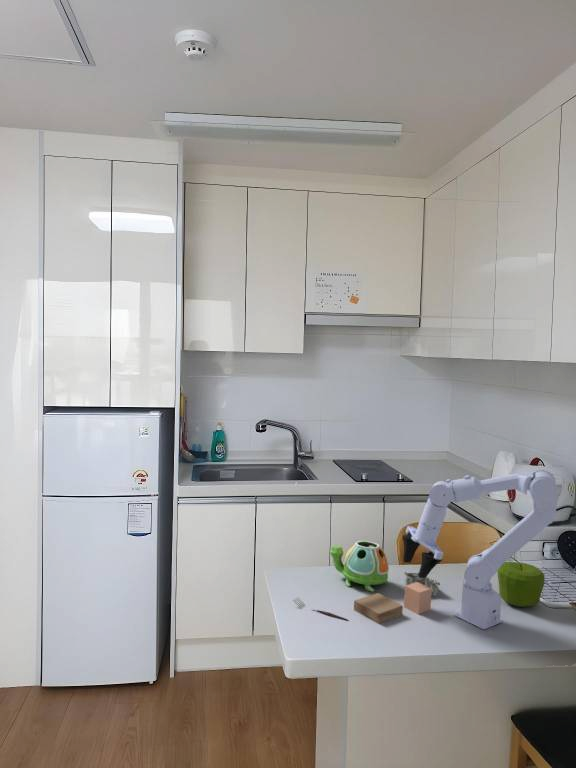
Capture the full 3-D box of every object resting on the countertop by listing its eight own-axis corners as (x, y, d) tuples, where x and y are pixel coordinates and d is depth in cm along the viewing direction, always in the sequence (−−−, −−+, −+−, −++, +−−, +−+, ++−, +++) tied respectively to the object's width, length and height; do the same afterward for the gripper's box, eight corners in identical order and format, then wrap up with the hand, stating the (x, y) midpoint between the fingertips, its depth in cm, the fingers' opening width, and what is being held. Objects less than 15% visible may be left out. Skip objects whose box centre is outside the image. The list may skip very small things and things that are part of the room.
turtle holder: (338, 568, 185) (340, 531, 184) (393, 581, 177) (395, 543, 176) (321, 581, 174) (323, 542, 174) (379, 596, 166) (381, 555, 165)
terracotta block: (430, 610, 158) (431, 588, 158) (418, 614, 155) (419, 592, 155) (416, 603, 162) (417, 582, 162) (403, 607, 159) (405, 585, 159)
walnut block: (402, 616, 155) (402, 605, 154) (378, 625, 149) (378, 613, 149) (377, 603, 162) (377, 593, 162) (353, 611, 156) (354, 600, 156)
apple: (517, 615, 158) (520, 574, 157) (486, 596, 169) (488, 558, 168) (552, 609, 162) (555, 569, 161) (519, 591, 174) (522, 554, 173)
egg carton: (440, 597, 167) (441, 583, 167) (415, 598, 166) (416, 584, 166) (425, 582, 178) (426, 569, 178) (402, 582, 177) (403, 569, 176)
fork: (346, 624, 149) (346, 616, 149) (292, 607, 157) (292, 600, 157) (350, 620, 151) (351, 613, 151) (297, 603, 159) (297, 596, 159)
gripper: (403, 510, 163) (388, 554, 165) (434, 536, 150) (417, 583, 152) (423, 513, 166) (408, 556, 168) (455, 538, 153) (438, 584, 155)
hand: (414, 569), depth 160 cm, fingers open, 7 cm apart
